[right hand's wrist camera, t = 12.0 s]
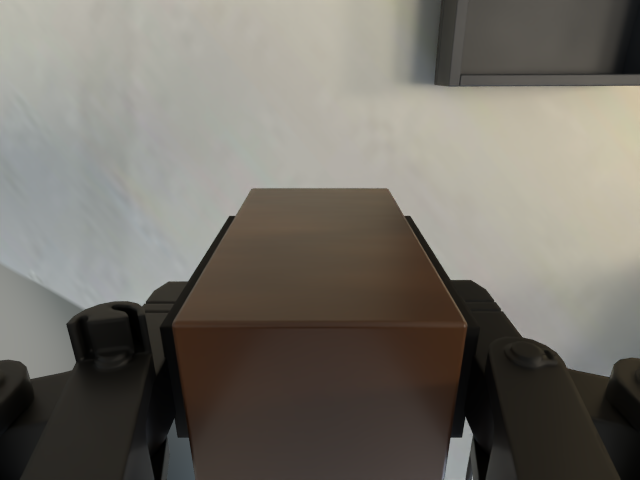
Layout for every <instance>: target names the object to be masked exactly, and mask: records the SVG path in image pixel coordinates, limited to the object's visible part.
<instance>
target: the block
mask: <svg viewBox="0 0 640 480" xmlns="http://www.w3.org/2000/svg"><path fill="white" fill-rule="evenodd" d="M172 329H173V336H174V343H175V349H176V356H177V362H178V369H179V375H180V382H181V388H182V395H183V402H184V408H185V415H186V421H187V428H188V434H189V441H190V447H191V454H192V460H193V467H194V474H195V480H444V477H445V470H446V464H447V457H448V450H449V444H450V437H451V431H452V424H453V417H454V411H455V404H456V398H457V391H458V385H459V378H460V371H461V365H462V358H463V352H464V345H465V338H466V332H467V322H466V320H465V319H464V317H463V315H462V314H461V312H460V310H459V309H458V307H457V305H456V303H455V302H454V300H453V298H452V297H451V295H450V293H449V292H448V290H447V288H446V286H445V285H444V283H443V281H442V280H441V278H440V276H439V275H438V273H437V271H436V269H435V268H434V266H433V264H432V263H431V261H430V259H429V258H428V256H427V254H426V252H425V251H424V249H423V247H422V246H421V244H420V242H419V241H418V239H417V237H416V235H415V234H414V232H413V230H412V229H411V227H410V225H409V224H408V222H407V220H406V218H405V217H404V215H403V213H402V212H401V210H400V208H399V207H398V205H397V203H396V201H395V200H394V198H393V196H392V195H391V193H390V191H389V189H367V188H366V189H365V188H253V189H251V191H250V193H249V194H248V196H247V198H246V199H245V201H244V203H243V204H242V206H241V208H240V209H239V211H238V213H237V215H236V216H235V218H234V220H233V221H232V223H231V225H230V226H229V228H228V230H227V231H226V233H225V235H224V237H223V238H222V240H221V242H220V243H219V245H218V247H217V248H216V250H215V252H214V253H213V255H212V257H211V258H210V260H209V262H208V264H207V265H206V267H205V269H204V270H203V272H202V274H201V275H200V277H199V279H198V280H197V282H196V284H195V286H194V287H193V289H192V291H191V292H190V294H189V296H188V297H187V299H186V301H185V302H184V304H183V306H182V307H181V309H180V311H179V313H178V314H177V316H176V318H175V319H174V321H173V323H172Z"/></svg>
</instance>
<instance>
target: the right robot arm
mask: <svg viewBox="0 0 640 480" xmlns="http://www.w3.org/2000/svg"><path fill="white" fill-rule="evenodd" d="M404 217H405V218H406V220H407V222H408V224H409V225H410V227H411V229H412V230H413V232H414V234H415V235H416V237H417V239H418V241H419V242H420V244H421V246H422V247H423V249H424V251H425V252H426V254H427V256H428V258H429V259H430V261H431V263H432V264H433V266H434V268H435V269H436V271H437V273H438V275H439V276H440V278H441V280H442V281H443V283H444V285H445V286H446V288H447V290H448V292H449V293H450V295H451V297H452V298H453V300H454V302H455V303H456V305H457V307H458V309H459V310H460V312H461V314H462V315H463V317H464V319H465V320H466V322H467V332H466V338H465V345H464V352H463V358H462V365H461V371H460V378H459V385H458V391H457V398H456V404H455V411H454V417H453V424H452V431H451V437H450V438H462V434H463V428H464V422H465V416H466V419H467V421H468V423H469V426H470V428H471V430H472V433H473V439H472V444H471V450H470V456H469V461H468V467H467V473H466V480H472V474H473V480H640V359H639V358H627V359H621V360H619V361H618V362H617V363H615V364H614V366H613V369H612V372H611V376H610V377H605V376H600V375H595V374H590V373H585V372H580V371H576V370H572V369H568V368H567V367H566V365H565V363H564V361H563V360H562V359H561V357H560V356H559V355H558V354H557V353H556V352H555V351H553V350H552V349H550V348H549V347H547V346H546V345H544V344H541V343H539V342H536V341H534V340H531V339H526V338H523V337H522V336H521V335H520V334H519V332H518V331H517V330H516V328H515V327H514V326H513V324H512V323H511V322H510V320H509V319H508V318H507V317H506V315H505V314H504V313H503V311H501V309H500V307H499V306H498V305H497V303H496V302H494V300H493V298H492V297H491V296H490V294H489V293H488V292H487V290H486V289H484V288H483V287H481V286H479V285H478V284H476V283H475V282H473V281H471V280H450V278H449V277H448V275H447V274H446V272H445V271H444V269H443V267H442V266H441V264H440V263H439V261H438V259H437V258H436V256H435V255H434V253H433V251H432V250H431V248H430V247H429V245H428V244H427V242H426V240H425V239H424V237H423V236H422V234H421V232H420V231H419V229H418V228H417V226H416V224H415V223H414V221H413V220H412V218H411V217H410V216H404ZM234 218H235V216H229V218H228V219H227V221H226V222H225V224H224V226H223V227H222V229H221V230H220V232H219V234H218V235H217V237H216V238H215V240H214V241H213V243H212V245H211V246H210V248H209V249H208V251H207V253H206V254H205V256H204V257H203V259H202V261H201V262H200V264H199V265H198V267H197V268H196V270H195V272H194V273H193V275H192V276H191V278H190V280H189V281H188V282H167V283H166V284H164V285H163V286H161V287H160V288H158V289H156V290H155V291H154V292H153V293H152V294H151V296H150V297H149V298H148V300H147V301H146V304H144V305H143V306H140V305H139V304H137V303H133V302H128V301H118V302H109V303H104V304H99V305H96V306H94V307H91V308H88V309H85V310H84V311H82V312H80V313H79V314H77V315H75V316H74V317H73V318H72V319H71V320H70V321H69V322H68V323H67V328H68V332H69V336H70V340H71V344H72V348H73V351H74V355H75V359H76V364H75V366H74V368H73V370H71V371H68V372H64V373H59V374H54V375H49V376H44V377H39V378H34V379H30V377H29V374H28V371H27V367H26V366H25V365H24V364H22V363H21V362H19V361H13V360H2V361H0V480H167V474H168V466H169V457H170V451H169V444H168V439H167V434H168V432H169V429H170V427H171V425H172V422H173V420H174V418H175V424H176V430H177V436H178V438H189V434H188V428H187V421H186V415H185V408H184V402H183V395H182V388H181V382H180V375H179V369H178V362H177V356H176V349H175V343H174V336H173V329H172V323H173V321H174V319H175V318H176V316H177V314H178V313H179V311H180V309H181V307H182V306H183V304H184V302H185V301H186V299H187V297H188V296H189V294H190V292H191V291H192V289H193V287H194V286H195V284H196V282H197V280H198V279H199V277H200V275H201V274H202V272H203V270H204V269H205V267H206V265H207V264H208V262H209V260H210V258H211V257H212V255H213V253H214V252H215V250H216V248H217V247H218V245H219V243H220V242H221V240H222V238H223V237H224V235H225V233H226V231H227V230H228V228H229V226H230V225H231V223H232V221H233V220H234Z"/></svg>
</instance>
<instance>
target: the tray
mask: <svg viewBox="0 0 640 480" xmlns="http://www.w3.org/2000/svg"><path fill="white" fill-rule="evenodd" d="M434 85H442V86H640V0H442V5H441V16H440V27H439V38H438V49H437V60H436V71H435V82H434Z"/></svg>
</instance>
